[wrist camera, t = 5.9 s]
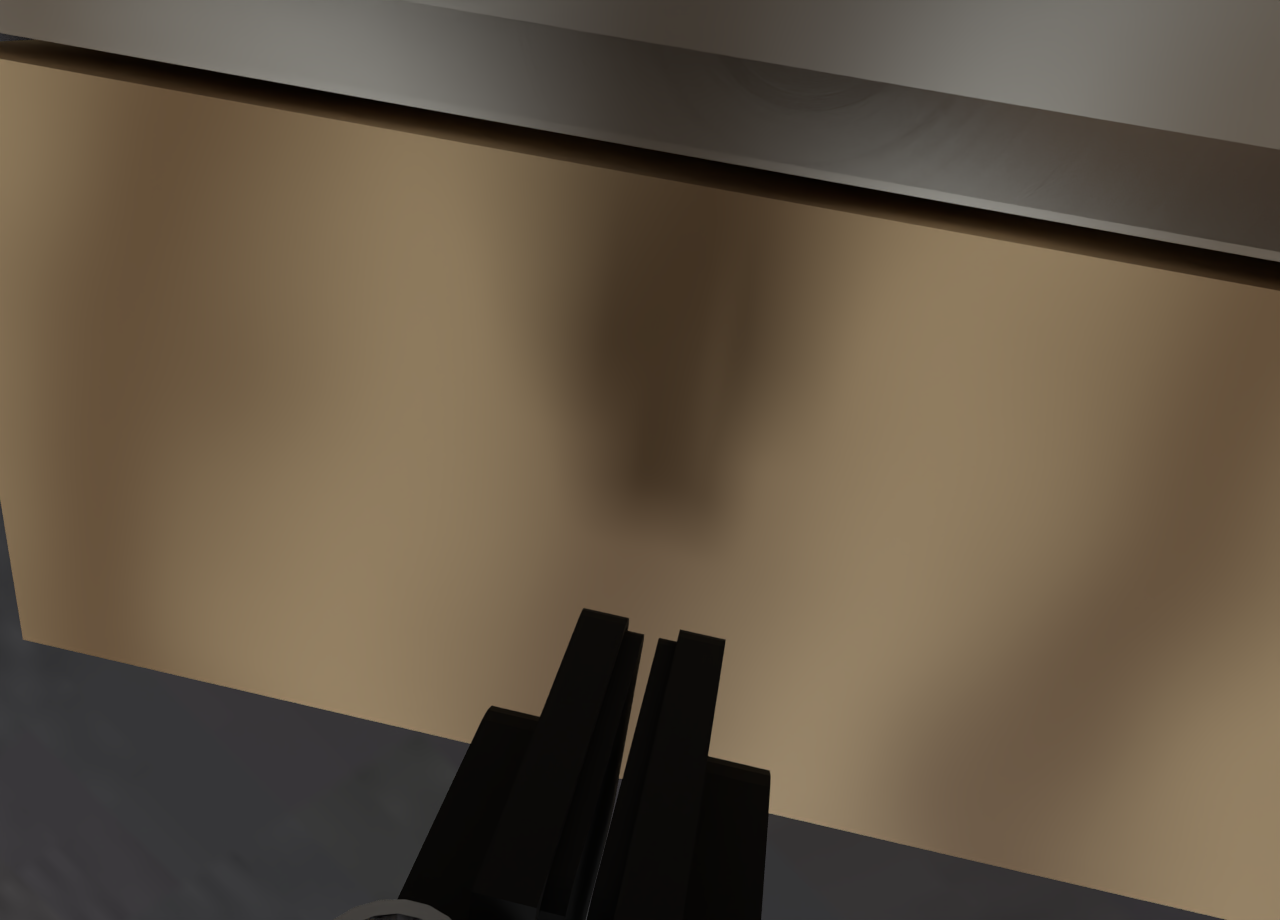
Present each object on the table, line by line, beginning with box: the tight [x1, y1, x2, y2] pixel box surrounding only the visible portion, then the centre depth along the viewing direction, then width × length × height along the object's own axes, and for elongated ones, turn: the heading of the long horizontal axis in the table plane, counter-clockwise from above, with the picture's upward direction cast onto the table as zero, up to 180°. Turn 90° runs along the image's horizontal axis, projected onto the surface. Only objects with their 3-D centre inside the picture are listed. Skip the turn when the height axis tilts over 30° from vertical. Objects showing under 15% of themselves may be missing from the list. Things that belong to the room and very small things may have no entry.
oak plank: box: [0, 40, 1280, 920], centre depth 14 cm, size 20×9×2 cm, turn 81°
